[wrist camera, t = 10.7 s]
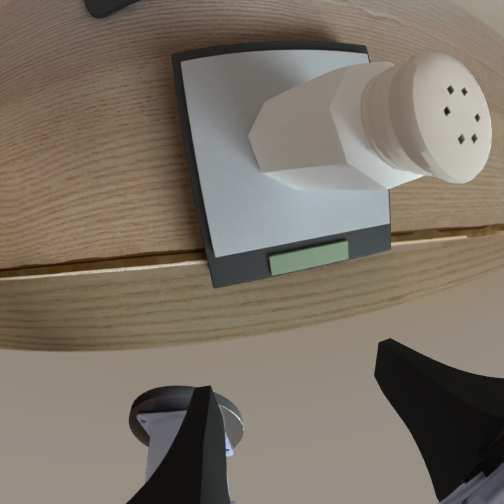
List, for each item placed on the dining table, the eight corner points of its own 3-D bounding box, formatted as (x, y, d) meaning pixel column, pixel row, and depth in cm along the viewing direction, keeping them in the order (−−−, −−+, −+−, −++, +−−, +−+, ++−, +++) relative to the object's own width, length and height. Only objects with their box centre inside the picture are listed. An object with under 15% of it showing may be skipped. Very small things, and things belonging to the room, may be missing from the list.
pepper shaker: (360, 148, 15) (533, 157, 4) (294, 210, 15) (438, 303, 5) (300, 75, 13) (435, -26, 2) (225, 135, 13) (267, 57, 3)
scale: (373, 240, 20) (395, 253, 17) (213, 273, 19) (214, 293, 16) (350, 55, 15) (370, 42, 12) (175, 66, 14) (169, 49, 11)
